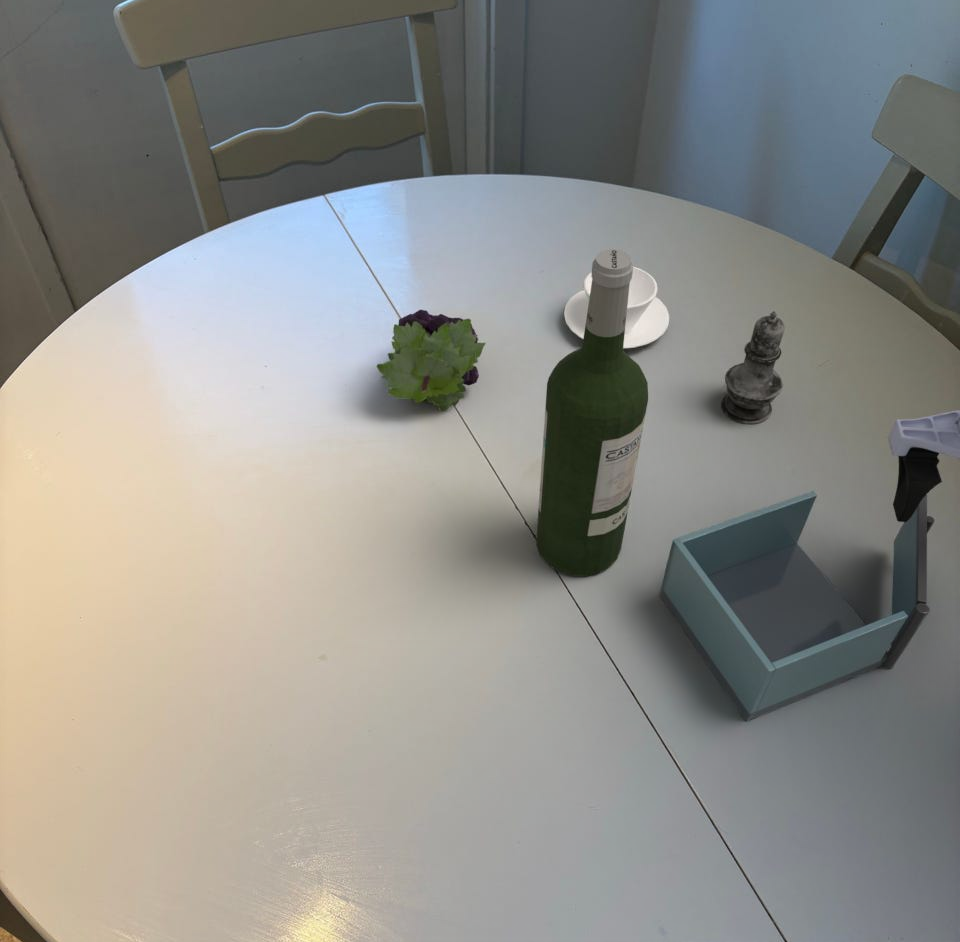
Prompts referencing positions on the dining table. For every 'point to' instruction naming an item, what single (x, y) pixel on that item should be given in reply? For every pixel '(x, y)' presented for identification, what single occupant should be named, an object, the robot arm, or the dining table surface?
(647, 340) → the teacup
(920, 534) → the blue flat panel
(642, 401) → the wine bottle
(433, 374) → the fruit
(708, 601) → the light blue open box
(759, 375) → the grey chess piece
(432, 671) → the dining table surface
